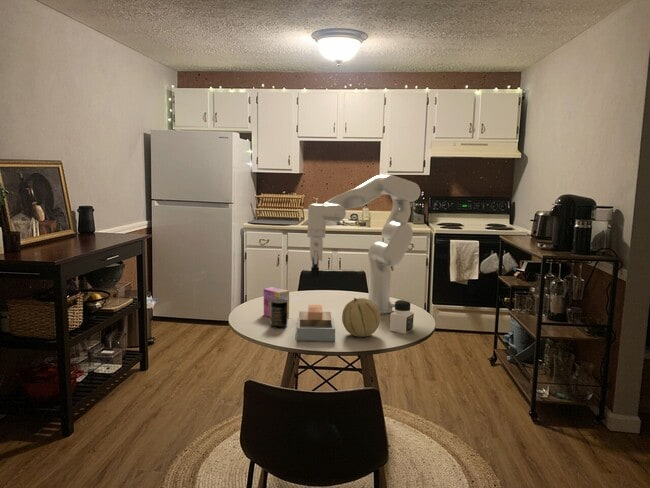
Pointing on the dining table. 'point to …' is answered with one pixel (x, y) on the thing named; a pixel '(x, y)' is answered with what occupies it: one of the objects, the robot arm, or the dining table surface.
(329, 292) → the dining table surface
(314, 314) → the tile front
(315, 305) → the tile rear
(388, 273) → the robot arm
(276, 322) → the supplement container
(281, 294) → the box
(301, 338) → the tray
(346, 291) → the dining table surface
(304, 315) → the brown flat block
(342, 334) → the dining table surface
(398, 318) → the medicine bottle
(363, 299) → the cantaloupe
